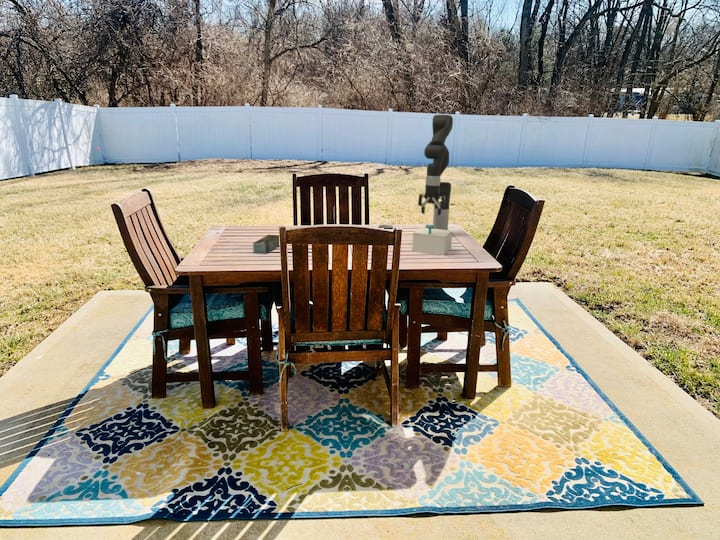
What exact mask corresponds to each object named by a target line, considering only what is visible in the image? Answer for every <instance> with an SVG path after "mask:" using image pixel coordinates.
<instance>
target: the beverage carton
mask: <svg viewBox="0 0 720 540" xmlns="http://www.w3.org/2000/svg"><path fill="white" fill-rule="evenodd" d="M279 235H280V234H279ZM279 235H276V234H267V235H266V236H263V237H262V238H260V239H257V240H256V241H254V242H253V244H252V245H253V246H252V247H253V253H254V254H260V253H263V254H262V255H267V254H269V253H271V252H272V251H274V250H275V249H277V248H279V247H280V246H279ZM278 246H279V247H278ZM276 247H277V248H276ZM273 249H274V250H273ZM270 251H271V252H270ZM268 252H269V253H268Z"/></svg>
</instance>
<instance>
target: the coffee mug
mask: <svg viewBox="0 0 720 540" xmlns="http://www.w3.org/2000/svg"><path fill="white" fill-rule="evenodd" d="M377 227H379V228H384V229H393V230H394V226H393V225H391V224H379V225H378V226H377Z"/></svg>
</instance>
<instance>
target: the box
mask: <svg viewBox="0 0 720 540" xmlns="http://www.w3.org/2000/svg"><path fill="white" fill-rule="evenodd" d="M452 239H453V231H452V232H451V233H450V234H449V235H448V236H446V237H437V236H428V235H420V234H413V233H412V243H411V244H412V248H411V249H412V250H411V252H412V253H419V254H426V253H429V254H428V255H433V254H436V255H435V256H441V255H444V256H446V255H447V254H448V253H449V252H450V251H451V250H452V241H453V240H452ZM450 249H451V250H450ZM449 250H450V251H449ZM448 251H449V252H448ZM447 252H448V253H447Z"/></svg>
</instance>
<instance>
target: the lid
mask: <svg viewBox="0 0 720 540" xmlns="http://www.w3.org/2000/svg"><path fill="white" fill-rule="evenodd" d="M434 228H435V225H433V224H425V227H424V226H423V227H422V226H421V227H419V228H418V229H416V230H415V231H413V233H412V235H413V234H420V235H428V236H437V237H446V236H448V235H449V234H450V233H451V232H452V233H453V230H441V229H434Z"/></svg>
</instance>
